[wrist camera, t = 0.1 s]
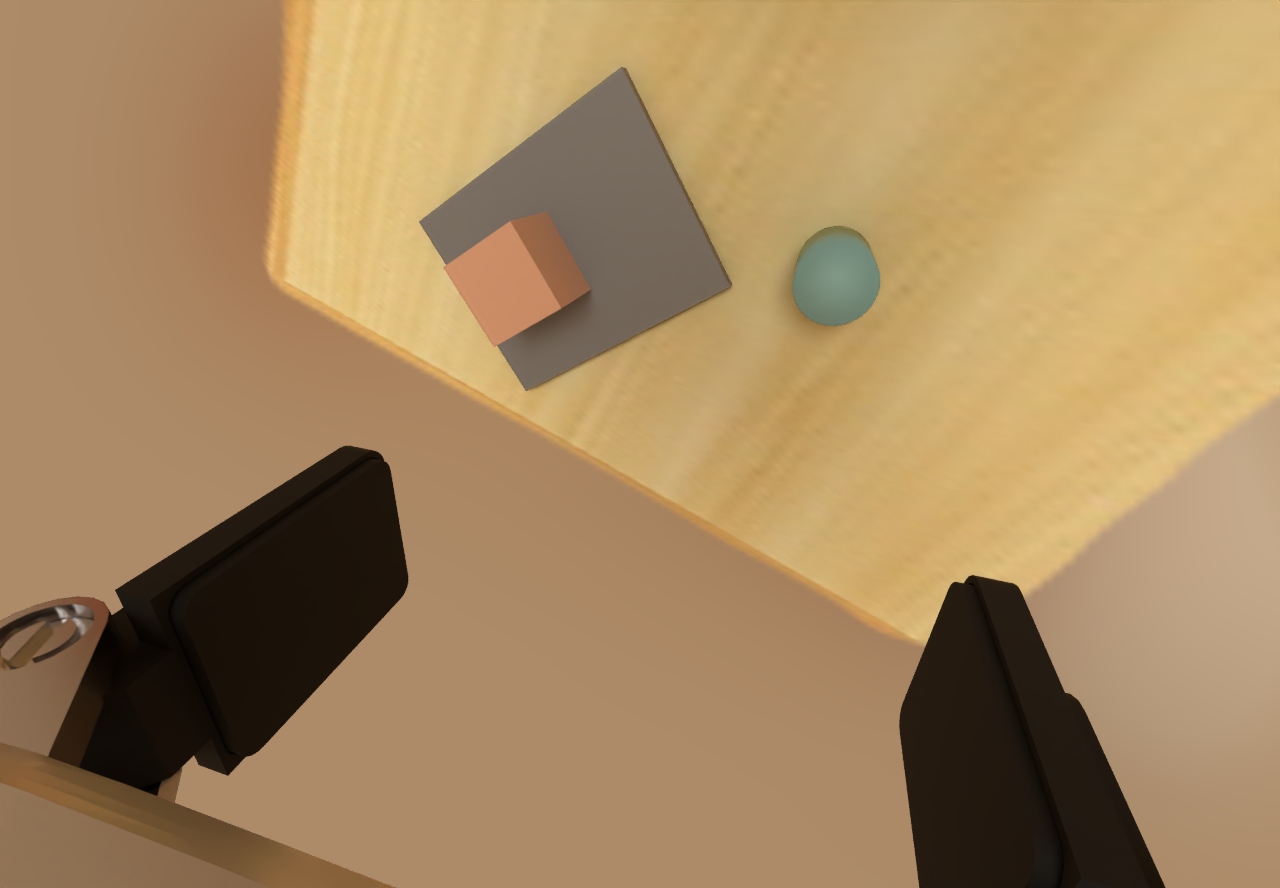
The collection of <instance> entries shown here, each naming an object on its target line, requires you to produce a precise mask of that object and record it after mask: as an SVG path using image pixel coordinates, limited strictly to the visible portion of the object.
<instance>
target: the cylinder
mask: <svg viewBox="0 0 1280 888" xmlns="http://www.w3.org/2000/svg"><path fill="white" fill-rule="evenodd" d="M879 287H880V273H879V269H878V266H877V263H876V261H875V258H874V256H873V253H872V251H871V249H870V246H869V244H868V242H867V241H866V239H865V238H864V237H863V236H862V235H861V234H860V233H858V232H857V231H855V230H853V229H851V228H847V227H841V226H834V227H829V228H825V229H823V230H821V231H819V232H817V233H815V234H814V235H813V236H812V237H810V238H809V239H808V240H807V242H806V243H805V244H804V246H803V247H802V249H801V251H800V254H799V257H798V261H797V266H796V270H795V274H794V279H793V296H794V300H795V302H796V304H797V306H798V308H799V309H800V311H801V312H802V313H803V314H804V315H805V316H806V317H807V318H809V319H810V320H812V321H814V322H816V323H818V324H822V325H827V326H838V325H843V324H847V323H850V322H852V321H854V320H856V319H858V318H859V317H861V316H862V315H863V314H864V313H866V312H867V311H868V309H869V308H870V307H871V306H872V304H873V303H874V301H875V299H876V297H877V294H878V291H879Z"/></svg>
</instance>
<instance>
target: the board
mask: <svg viewBox="0 0 1280 888" xmlns="http://www.w3.org/2000/svg"><path fill="white" fill-rule="evenodd" d="M543 212H547V213H548V214H549V216H550V218H551V220H552V221H553V223H554V225H555V227H556V229H557V230H558V232H559V234H560V236H561V237H562V239H563V241H564V243H565V244H566V246H567V248H568V250H569V252H570V253H571V255H572V257H573V259H574V260H575V262H576V264H577V266H578V267H579V269H580V271H581V273H582V275H583V276H584V278H585V280H586V282H587V283H588V285H589V287H590V289H591V290H589V291H588V292H586V293H585V294H583V295H582V296H580V297H578V298H577V299H575V300H574V301H572V302H571V303H569V304H568V305H566V306H564V307H563V308H561V309H560V310H558V311H556V312H554V313H553V314H551V315H549V316H547V317H546V318H544V319H542V320H540V321H539V322H537V323H535V324H533V325H532V326H530V327H528V328H526V329H525V330H523V331H521V332H519V333H518V334H516V335H514V336H512V337H511V338H509V339H507V340H506V341H504V342H502V343H500V344H499V345H497V346H498V347H499V349H500V351H501V352H502V354H503V355H504V357H505V359H506V360H507V362H508V363H509V365H510V366H511V368H512V370H513V371H514V373H515V374H516V376H517V377H518V379H519V381H520V382H521V384H522V385H523V387H524V389H525V390H526V391H528V390H530V389H531V388H533V387H535V386H537V385H539V384H541V383H543V382H545V381H547V380H549V379H551V378H553V377H555V376H557V375H559V374H561V373H563V372H565V371H567V370H569V369H571V368H573V367H575V366H576V365H578V364H580V363H582V362H584V361H586V360H588V359H590V358H592V357H594V356H596V355H598V354H600V353H602V352H604V351H606V350H608V349H610V348H612V347H614V346H616V345H618V344H620V343H622V342H623V341H625V340H627V339H629V338H631V337H633V336H635V335H637V334H639V333H641V332H643V331H645V330H647V329H649V328H651V327H653V326H655V325H657V324H659V323H661V322H663V321H665V320H667V319H668V318H670V317H672V316H674V315H676V314H678V313H680V312H682V311H684V310H686V309H688V308H690V307H692V306H694V305H696V304H698V303H700V302H702V301H704V300H706V299H708V298H710V297H712V296H714V295H715V294H717V293H719V292H721V291H723V290H725V289H727V288H729V287H730V286H731V285H732V284H731V282H730V279H729V277H728V275H727V273H726V271H725V269H724V267H723V265H722V263H721V261H720V259H719V257H718V255H717V253H716V251H715V249H714V247H713V245H712V243H711V241H710V239H709V237H708V235H707V233H706V231H705V228H704V226H703V224H702V222H701V220H700V218H699V216H698V214H697V212H696V210H695V208H694V206H693V204H692V202H691V200H690V198H689V196H688V194H687V192H686V190H685V188H684V186H683V184H682V182H681V180H680V178H679V175H678V173H677V171H676V169H675V167H674V165H673V163H672V161H671V159H670V157H669V155H668V153H667V151H666V149H665V147H664V145H663V143H662V141H661V139H660V137H659V135H658V133H657V131H656V129H655V127H654V125H653V122H652V120H651V118H650V116H649V114H648V112H647V110H646V108H645V106H644V104H643V102H642V100H641V98H640V96H639V94H638V92H637V90H636V88H635V86H634V84H633V82H632V80H631V78H630V76H629V74H628V72H627V69H626V68H623V67H621V68H620V69H618V70H617V71H616V72H614V73H613V74H612V75H610V76H609V77H608V78H606V79H605V80H604V81H603V82H601V83H600V84H599V85H597V86H596V87H595V88H593V89H592V90H591V91H589V92H588V93H587V94H586V95H584V96H583V97H582V98H580V99H579V100H578V101H576V102H575V103H574V104H572V105H571V106H570V107H569V108H567V109H566V110H565V111H563V112H562V113H561V114H559V115H558V116H557V117H555V118H554V119H553V120H552V121H550V122H549V123H548V124H546V125H545V126H544V127H542V128H541V129H540V130H538V131H537V132H536V133H534V134H533V135H532V136H531V137H529V138H528V139H527V140H525V141H524V142H523V143H521V144H520V145H519V146H517V147H516V148H515V149H514V150H512V151H511V152H510V153H508V154H507V155H506V156H504V157H503V158H502V159H500V160H499V161H498V162H497V163H495V164H494V165H493V166H491V167H490V168H489V169H487V170H486V171H485V172H483V173H482V174H481V175H480V176H478V177H477V178H476V179H474V180H473V181H472V182H470V183H469V184H468V185H466V186H465V187H464V188H462V189H461V190H460V191H459V192H457V193H456V194H455V195H453V196H452V197H451V198H449V199H448V200H447V201H445V202H444V203H443V204H442V205H440V206H439V207H438V208H436V209H435V210H434V211H432V212H431V213H430V214H428V215H427V216H426V217H425V218H423V219H422V220H421V221H419V223H420V224H421V226H422V227H423V229H424V231H425V232H426V234H427V235H428V237H429V238H430V240H431V242H432V243H433V245H434V246H435V248H436V250H437V251H438V253H439V254H440V256H441V257H442V259H443V261H444V262H445V264H446V265H447V264H449V263H450V262H452V261H453V260H455V259H456V258H458V257H459V256H460V255H462V254H463V253H465V252H466V251H468V250H469V249H471V248H472V247H473V246H475V245H476V244H478V243H479V242H481V241H482V240H484V239H485V238H486V237H488V236H489V235H491V234H492V233H494V232H495V231H497V230H498V229H499V228H501V227H502V226H504V225H505V224H507V223H508V222H510V221H512V220H516V219H520V218H524V217H528V216H532V215H535V214H539V213H543Z"/></svg>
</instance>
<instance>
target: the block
mask: <svg viewBox="0 0 1280 888" xmlns="http://www.w3.org/2000/svg"><path fill="white" fill-rule="evenodd" d="M443 268H444V269H445V271H446V272H447V274H448V276H449V277H450V279H451V280H452V282H453V283H454V285H455V287H456V288H457V290H458V291H459V293H460V294H461V296H462V298H463V299H464V301H465V302H466V304H467V305H468V307H469V309H470V310H471V312H472V313H473V315H474V316H475V318H476V320H477V321H478V323H479V324H480V326H481V327H482V329H483V331H484V332H485V334H486V335H487V337H488V338H489V340H490V342H491V343H492V345H493V346H494V347H495V346H497V345H499V344H500V343H502V342H504V341H506V340H507V339H509V338H511V337H512V336H514V335H516V334H518V333H519V332H521V331H523V330H525V329H526V328H528V327H530V326H532V325H533V324H535V323H537V322H539V321H540V320H542V319H544V318H546V317H547V316H549V315H551V314H553V313H554V312H556V311H558V310H560V309H561V308H563V307H564V306H566V305H568V304H569V303H571V302H572V301H574V300H575V299H577V298H578V297H580V296H582V295H583V294H585V293H586V292H588V291H589V290H591V289H590V287H589V285H588V283H587V282H586V280H585V278H584V276H583V275H582V273H581V271H580V269H579V267H578V266H577V264H576V262H575V260H574V259H573V257H572V255H571V253H570V252H569V250H568V248H567V246H566V244H565V243H564V241H563V239H562V237H561V236H560V234H559V232H558V230H557V229H556V227H555V225H554V223H553V221H552V220H551V218H550V216H549V214H548V213H547V212H543V213H539V214H535V215H532V216H528V217H524V218H520V219H516V220H512V221H510V222H508V223H507V224H505V225H504V226H502V227H501V228H499V229H498V230H497V231H495V232H494V233H492V234H491V235H489V236H488V237H486V238H485V239H484V240H482V241H481V242H479V243H478V244H476V245H475V246H473V247H472V248H471V249H469V250H468V251H466V252H465V253H463V254H462V255H460V256H459V257H458V258H456V259H455V260H453V261H452V262H450V263H449V264H447V265H446V266H445V267H443Z"/></svg>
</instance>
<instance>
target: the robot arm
mask: <svg viewBox="0 0 1280 888" xmlns="http://www.w3.org/2000/svg"><path fill="white" fill-rule="evenodd" d="M407 585H408V573H407V566H406V560H405V554H404V548H403V542H402V537H401V530H400V524H399V518H398V512H397V506H396V500H395V494H394V488H393V482H392V477H391V470H390V467H389V465H388V464H387V462H384V459H383V457H382V455H381V454H380V453H378V452H376V451H373V450H368V449H363V448H358V447H353V446H343V447H341V448H339V449H337V450H336V451H334V452H333V453H331V454H330V455H328V456H326V457H325V458H323V459H322V460H320V461H319V462H317V463H315V464H314V465H312V466H311V467H309V468H307V469H306V470H304V471H303V472H301V473H299V474H298V475H296V476H295V477H293V478H292V479H290V480H288V481H287V482H285V483H284V484H282V485H280V486H279V487H277V488H276V489H274V490H273V491H271V492H270V493H268V494H266V495H265V496H263V497H262V498H260V499H258V500H257V501H255V502H254V503H252V504H250V505H249V506H247V507H246V508H244V509H243V510H241V511H239V512H238V513H237V514H235V515H233V516H231V517H230V518H228V519H227V520H225V521H224V522H222V523H220V524H219V525H217V526H216V527H214V528H212V529H211V530H209V531H208V532H206V533H205V534H203V535H201V536H200V537H198V538H197V539H195V540H193V541H192V542H190V543H189V544H187V545H186V546H184V547H182V548H181V549H179V550H178V551H176V552H175V553H173V554H171V555H170V556H168V557H167V558H165V559H163V560H162V561H161V562H159V563H157V564H156V565H154V566H152V567H151V568H149V569H148V570H146V571H145V572H143V573H142V574H140V575H138V576H137V577H135V578H133V579H132V580H130V581H129V582H127V583H125V584H124V585H122V586H121V587H119V588H118V589H116V590H115V591H116V593H117V595H118V597H119V599H120V601H121V603H122V606H123V608H122V609H121V610H119V611H118V612H116V613H115V614H113V615H111V613H110V611H109V609H108V607H107V606H106V604H105V603H104V602H102V601H100V600H98V599H95V598H91V597H69V598H61V599H56V600H52V601H48V602H44V603H41V604H37V605H34V606H31V607H29V608H26V609H24V610H21V611H19V612H16V613H14V614H12V615H10V616H8V617H6V618H4V619H2V620H1V621H0V888H395V887H393V886H390V885H387V884H385V883H382V882H379V881H377V880H374V879H372V878H369V877H367V876H364V875H362V874H359V873H356V872H354V871H351V870H349V869H346V868H343V867H341V866H338V865H336V864H333V863H331V862H328V861H325V860H323V859H320V858H318V857H315V856H312V855H309V854H307V853H304V852H302V851H299V850H297V849H294V848H291V847H289V846H286V845H284V844H281V843H278V842H276V841H273V840H271V839H268V838H265V837H263V836H260V835H258V834H255V833H252V832H250V831H247V830H244V829H242V828H239V827H236V826H234V825H231V824H228V823H226V822H223V821H221V820H218V819H215V818H212V817H210V816H208V815H205V814H202V813H199V812H197V811H194V810H191V809H189V808H186V807H184V806H181V805H179V804H176V803H175V799H176V794H177V790H178V786H179V781H180V777H181V773H182V766H183V765H184V764H185V763H186V762H187V761H188V760H189V759H191V757H193V756H195V758H196V760H197V762H198V764H199V765H200V766H203V767H206V768H208V769H211V770H214V771H217V772H219V773H222V774H225V775H229V774H230V773H231V772H232V771H233V770H234V769H235V768H236V767H237V766H238V765H239V764H240V762H241V761H242V760H243V759H244V758H245V757H247V756H251V755H253V754H255V753H256V752H258V751H259V750H260V749H261V748H262V747H263V746H264V745H265V744H266V743H267V742H268V741H269V740H270V739H271V738H272V737H273V736H274V734H275V733H276V732H277V731H278V730H279V729H280V728H281V727H282V726H283V725H284V724H285V723H286V722H287V720H288V719H289V718H290V717H291V716H292V715H293V714H294V713H295V712H296V710H298V709H299V708H300V706H301V705H302V704H303V703H304V702H305V701H306V700H307V699H308V698H309V697H310V696H311V695H312V693H313V692H314V691H315V690H316V689H317V688H318V687H319V686H320V685H321V684H322V683H323V682H324V681H325V680H326V679H327V677H328V676H329V675H330V674H331V673H332V672H333V671H334V670H335V669H336V668H337V667H338V666H339V665H340V663H341V662H342V661H343V660H344V659H345V658H346V657H347V656H348V655H349V654H350V653H351V652H352V650H353V649H354V648H355V647H356V646H357V645H358V644H359V643H360V642H361V641H362V640H363V639H364V638H365V636H366V635H367V634H368V633H369V632H370V631H371V630H372V629H373V628H374V627H375V626H376V625H377V624H378V622H379V621H380V620H381V619H382V618H383V617H384V616H385V615H386V614H387V613H388V612H389V611H390V609H391V608H392V607H393V606H394V605H395V604H396V603H397V602H398V601H399V600H400V599H401V597H402V596H403V595H404V593H405V591H406V588H407ZM899 727H900V737H901V745H902V753H903V761H904V769H905V776H906V785H907V793H908V801H909V808H910V817H911V824H912V833H913V841H914V848H915V856H916V864H917V871H918V880H919V888H1165V886H1164V883H1163V881H1162V879H1161V877H1160V875H1159V872H1158V870H1157V868H1156V866H1155V864H1154V862H1153V859H1152V857H1151V855H1150V853H1149V851H1148V848H1147V847H1146V844H1145V842H1144V840H1143V837H1142V835H1141V833H1140V831H1139V829H1138V826H1137V824H1136V822H1135V820H1134V818H1133V816H1132V813H1131V811H1130V809H1129V807H1128V804H1127V802H1126V800H1125V798H1124V796H1123V793H1122V791H1121V789H1120V787H1119V785H1118V782H1117V780H1116V778H1115V776H1114V774H1113V771H1112V769H1111V767H1110V765H1109V763H1108V761H1107V758H1106V756H1105V754H1104V752H1103V750H1102V747H1101V745H1100V743H1099V741H1098V739H1097V736H1096V734H1095V732H1094V730H1093V728H1092V725H1091V723H1090V721H1089V719H1088V717H1087V715H1086V712H1085V710H1084V709H1083V707H1082V706H1081V704H1080V702H1079V701H1078V700H1077V699H1076V698H1075V697H1073V696H1072V695H1071V694H1068V693H1065V692H1064V690H1063V687H1062V685H1061V683H1060V681H1059V678H1058V676H1057V674H1056V671H1055V669H1054V666H1053V664H1052V662H1051V660H1050V657H1049V655H1048V653H1047V650H1046V648H1045V646H1044V643H1043V641H1042V639H1041V637H1040V634H1039V632H1038V630H1037V628H1036V625H1035V623H1034V620H1033V618H1032V616H1031V614H1030V611H1029V609H1028V607H1027V604H1026V602H1025V600H1024V597H1023V595H1022V593H1021V591H1020V589H1019V587H1018V586H1017V585H1015V584H1013V583H1008V582H1003V581H998V580H994V579H989V578H984V577H979V576H974V575H972V576H969V577H968V578H967V579H966V580H965V582H964V584H963V583H959V582H953V583H952V584H951V586H950V588H949V589H948V592H947V594H946V597H945V599H944V602H943V604H942V607H941V609H940V612H939V614H938V617H937V619H936V622H935V624H934V627H933V629H932V632H931V634H930V637H929V639H928V642H927V644H926V647H925V649H924V652H923V654H922V657H921V659H920V662H919V664H918V667H917V669H916V672H915V674H914V677H913V679H912V681H911V684H910V686H909V689H908V692H907V694H906V697H905V699H904V702H903V704H902V707H901V713H900V724H899Z"/></svg>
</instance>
